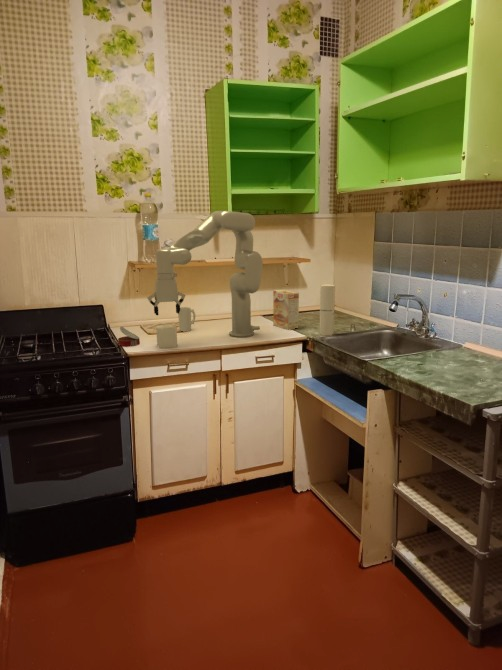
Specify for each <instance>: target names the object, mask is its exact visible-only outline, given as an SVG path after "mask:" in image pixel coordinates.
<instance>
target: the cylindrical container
mask: <svg viewBox="0 0 502 670" xmlns="http://www.w3.org/2000/svg"><path fill="white" fill-rule="evenodd" d="M319 292H320V293H319V294H320V295H319V297H320V298H319V301H320V302H319V331H318V332H319V335H320V334H321V335H320V336H325V335H330V336H333V335H334V330H335V328H334V327H335V298H336V295H335V294H336V293H335V292H336V285H335V284H329V283H327V284H326V283H325V284H320V291H319ZM332 334H333V335H332Z"/></svg>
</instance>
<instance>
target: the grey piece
mask: <svg viewBox="0 0 502 670" xmlns="http://www.w3.org/2000/svg"><path fill="white" fill-rule="evenodd" d="M155 328H156V329H155V330H156V345H157V346H158V347H159V348H160V349H168V348H178V334H177V333H178V330H177V327H176V326H174V325H173V324H169V325H168V324H167V325H156V326H155Z"/></svg>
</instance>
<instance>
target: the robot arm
mask: <svg viewBox="0 0 502 670" xmlns="http://www.w3.org/2000/svg"><path fill="white" fill-rule="evenodd" d="M255 226H256V219H255V217H254V216H253V214H250V213H248V212H240V211H230V210H216V211H213V212H212V213H210V214H209V215H208V216H207V217H206V218H205V219H204V220H203V221H202V222H201V223H200V224H198V225H197V226H196V227H195V228H194V229H193V230H191V231H189V232H188V233H186V234H185V235H183V236H181V237H180V238H179V239H177V240H176V241H175V242H174V243H173V244H172V245H171V246H170V247H169V248H160V249H159V248H158V249H157V250H156V251H155V260H156V261H155V262H156V263H155V264H156V277H157V278H156V279H155V281H154V293H152V294H151V295H149V296H147V300H148V302H149V303H150V304H151V305H152V306H153V311H154V312H153V313H154V315H156V316H159V307H158V306H159V304H160V303H170V302H171V303H172V302H175V303H176V304H175V313H176V314H179V312H180V308H181V305H182V303H183V302H184V299H185V297H186V295H185V294H184V293H182V292H180V291H178V284H177V280H176V278H177V277H178V273H175V272H174V271H175V266H174V265H180V266H184V265H188V264H189V263H190V262H191V260H192V252H191V251H192V250H193V249H195V248H198V247H202V246H204V245H206V244H208V243H209V242H210V241H211V240H212V239H214V237H215V236H216V235H217V234H218V233H220V232H221V231H222V230H226V231H227V230H228V231H231V232H232V233H233V234H234V237H235V252H234V265H235V267H236V268H237V269H239V270H243V271H238V272H235V273H233V274H232V275H231V276H230V278H229V288H230V294H231V330H230V331H229V333H228V335H229V336H231V337H235V338H247V337H252V336H253V335H255V333H254V331H259V330H260V329H261V327H260V326H259V325H258V326H257V325H252V323H251V322H252V321H251V320H252V316H251V315H252V309H251V308H252V307H251V306H252V305H251V302H252V301H251V300H252V299H251V295H250V294H255V293H256V292H258V291H259V289H260V286H261V282H262V273H263V265H264V263H263V258H262V257H263V256H261V254H260V253H259V252H257V251H255V250H254V236H253V234H252V233H253V232H252V230H253V229H254V228H255ZM179 296H180V299H179ZM153 298H154V301H153Z"/></svg>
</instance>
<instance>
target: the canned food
mask: <svg viewBox="0 0 502 670" xmlns="http://www.w3.org/2000/svg"><path fill="white" fill-rule="evenodd" d="M119 330H120V332H121V333H122V334H123V335H125V336H122V337H121V336H120V337H118V339H117V340H118V341H117V342H118V343H119V344H120V345H121V346H120V347H127V348H128V347H130V348H131V347H136V346H139V345H140V344H141V343H140V342H141V340H140V337H139V336H138V335H137V334H135V333H133V332H131V331H130V330H128V329H126V328H125V327H124V326H120V327H119Z"/></svg>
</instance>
